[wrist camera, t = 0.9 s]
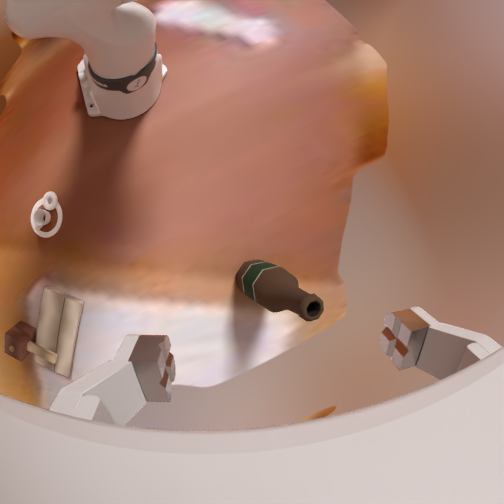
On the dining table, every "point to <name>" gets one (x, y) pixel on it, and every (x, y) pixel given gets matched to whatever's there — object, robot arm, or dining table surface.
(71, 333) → the ash board
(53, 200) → the white curved piece
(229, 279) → the dining table surface
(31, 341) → the block
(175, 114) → the dining table surface
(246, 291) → the beer bottle
